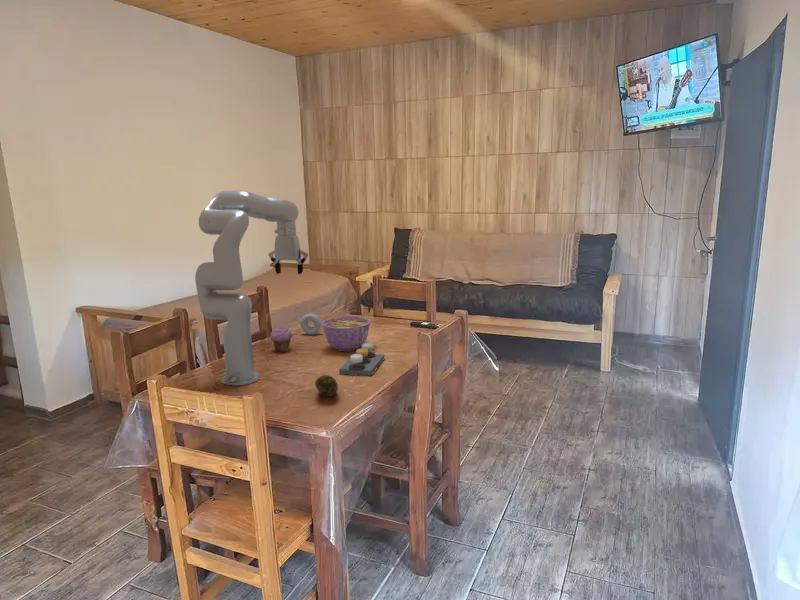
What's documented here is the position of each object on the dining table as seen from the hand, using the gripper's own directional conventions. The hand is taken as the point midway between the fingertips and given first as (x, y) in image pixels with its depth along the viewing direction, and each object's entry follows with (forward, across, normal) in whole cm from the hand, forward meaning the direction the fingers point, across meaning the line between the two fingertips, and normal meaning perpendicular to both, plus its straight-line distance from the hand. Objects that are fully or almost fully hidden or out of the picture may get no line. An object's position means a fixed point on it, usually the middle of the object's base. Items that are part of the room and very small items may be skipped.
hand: (289, 273), depth 236 cm
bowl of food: (+31, +25, -2) cm, 40 cm away
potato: (+31, +34, -54) cm, 71 cm away
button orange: (+27, +38, -24) cm, 52 cm away
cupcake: (+31, -1, -9) cm, 33 cm away
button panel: (+31, +38, -24) cm, 54 cm away
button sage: (+27, +38, -17) cm, 49 cm away
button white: (+27, +38, -31) cm, 55 cm away
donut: (+31, +2, +16) cm, 35 cm away
